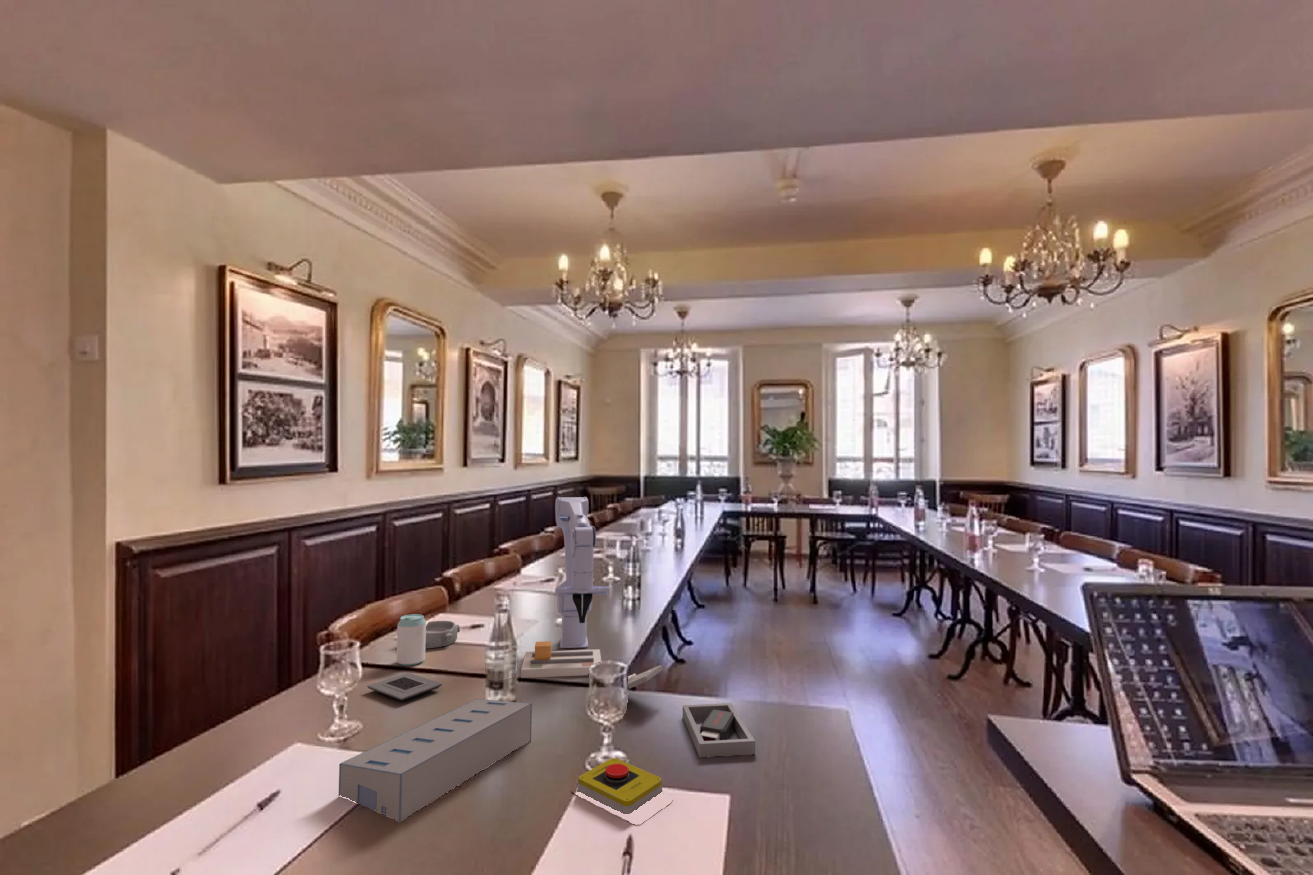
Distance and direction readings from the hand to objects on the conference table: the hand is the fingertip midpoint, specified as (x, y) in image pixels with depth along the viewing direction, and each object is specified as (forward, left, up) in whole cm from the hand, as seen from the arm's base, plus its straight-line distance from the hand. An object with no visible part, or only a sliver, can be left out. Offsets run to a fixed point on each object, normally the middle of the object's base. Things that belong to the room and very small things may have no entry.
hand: (582, 622), depth 163 cm
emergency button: (+66, +6, -11) cm, 67 cm away
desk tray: (+47, +26, -10) cm, 55 cm away
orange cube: (+4, -10, -8) cm, 14 cm away
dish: (-21, -43, -11) cm, 49 cm away
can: (-4, -45, -11) cm, 46 cm away
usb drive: (+47, +26, -10) cm, 55 cm away
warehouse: (+53, -25, -11) cm, 60 cm away
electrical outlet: (+17, -41, -11) cm, 46 cm away
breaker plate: (+4, -5, -10) cm, 12 cm away
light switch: (+28, +10, -11) cm, 32 cm away
